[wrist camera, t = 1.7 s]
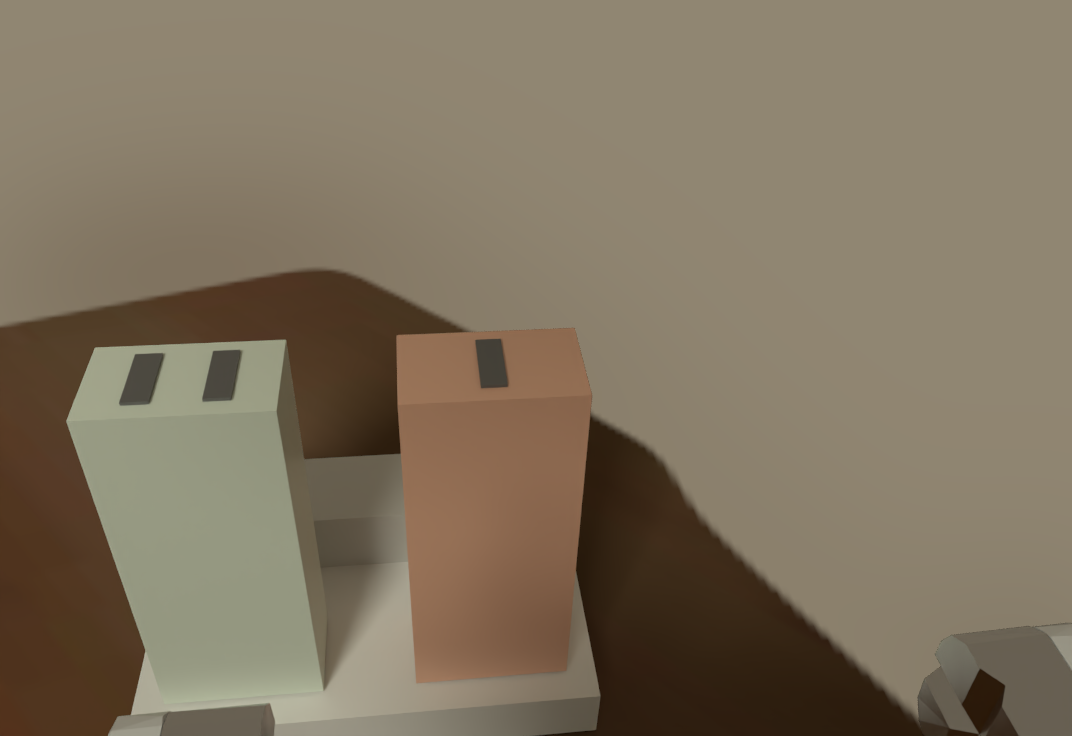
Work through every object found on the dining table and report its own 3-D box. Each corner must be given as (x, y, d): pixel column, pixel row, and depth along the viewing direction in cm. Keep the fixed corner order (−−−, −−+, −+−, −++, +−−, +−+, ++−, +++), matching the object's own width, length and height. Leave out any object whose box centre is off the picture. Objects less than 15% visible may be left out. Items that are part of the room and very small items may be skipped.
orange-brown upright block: (416, 682, 32) (397, 401, 25) (414, 605, 34) (396, 328, 27) (566, 670, 33) (592, 392, 25) (553, 594, 35) (573, 320, 28)
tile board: (139, 771, 31) (107, 690, 29) (188, 539, 39) (166, 457, 36) (595, 730, 33) (606, 649, 30) (555, 515, 41) (561, 436, 38)
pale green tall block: (164, 703, 31) (64, 418, 24) (180, 622, 34) (95, 340, 26) (323, 691, 32) (276, 407, 24) (327, 611, 34) (285, 332, 27)
